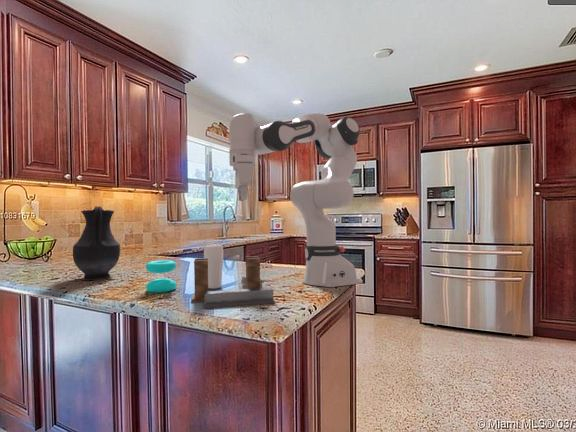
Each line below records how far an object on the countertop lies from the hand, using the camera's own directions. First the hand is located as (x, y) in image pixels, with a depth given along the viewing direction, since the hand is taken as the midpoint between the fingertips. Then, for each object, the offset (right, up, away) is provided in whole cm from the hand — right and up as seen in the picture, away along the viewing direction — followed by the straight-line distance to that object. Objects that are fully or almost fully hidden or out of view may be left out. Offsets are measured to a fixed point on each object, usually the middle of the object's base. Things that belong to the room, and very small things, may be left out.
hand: (242, 200), depth 116 cm
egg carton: (+3, -32, +2) cm, 32 cm away
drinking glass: (-11, -31, +4) cm, 33 cm away
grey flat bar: (+1, -31, -17) cm, 36 cm away
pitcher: (-64, -32, +23) cm, 75 cm away
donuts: (-29, -32, +1) cm, 43 cm away
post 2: (+5, -31, -9) cm, 33 cm away
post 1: (-11, -31, -13) cm, 36 cm away
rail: (+1, -31, -17) cm, 35 cm away
